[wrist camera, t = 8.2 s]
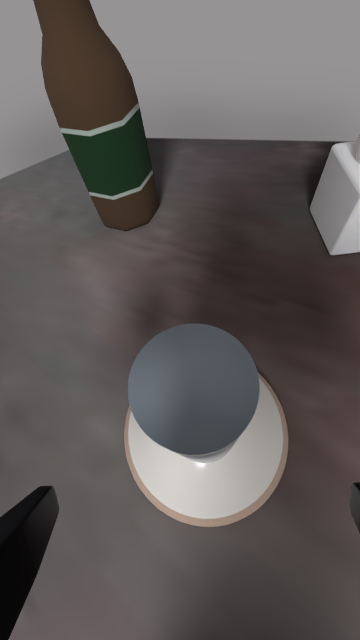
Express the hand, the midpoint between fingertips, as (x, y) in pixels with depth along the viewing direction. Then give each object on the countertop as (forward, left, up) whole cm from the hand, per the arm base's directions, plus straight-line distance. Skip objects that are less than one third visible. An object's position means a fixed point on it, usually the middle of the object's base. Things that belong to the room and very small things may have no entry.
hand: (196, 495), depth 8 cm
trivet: (+4, 0, -12) cm, 13 cm away
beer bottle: (+30, +6, -12) cm, 33 cm away
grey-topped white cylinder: (+4, 0, -11) cm, 12 cm away
